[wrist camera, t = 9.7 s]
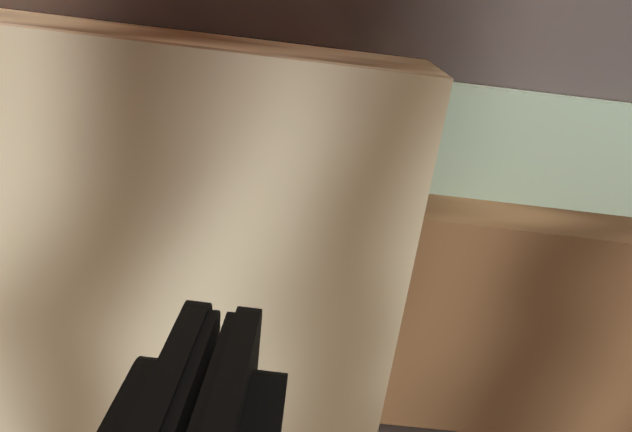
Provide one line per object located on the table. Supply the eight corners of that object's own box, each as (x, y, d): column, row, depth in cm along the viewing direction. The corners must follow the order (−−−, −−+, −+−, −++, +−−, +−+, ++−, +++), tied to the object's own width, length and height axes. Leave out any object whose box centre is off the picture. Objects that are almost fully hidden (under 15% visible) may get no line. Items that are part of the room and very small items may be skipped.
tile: (705, 225, 16) (755, 257, 14) (623, 405, 19) (655, 451, 17) (407, 191, 15) (418, 218, 14) (369, 379, 18) (374, 423, 16)
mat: (910, 136, 15) (925, 140, 15) (729, 446, 20) (737, 455, 19) (441, 80, 15) (444, 82, 14) (373, 411, 19) (374, 420, 19)
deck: (427, 59, 14) (453, 78, 11) (357, 420, 20) (363, 497, 17) (-177, -14, 14) (-313, -13, 11) (-83, 377, 19) (-157, 449, 16)
